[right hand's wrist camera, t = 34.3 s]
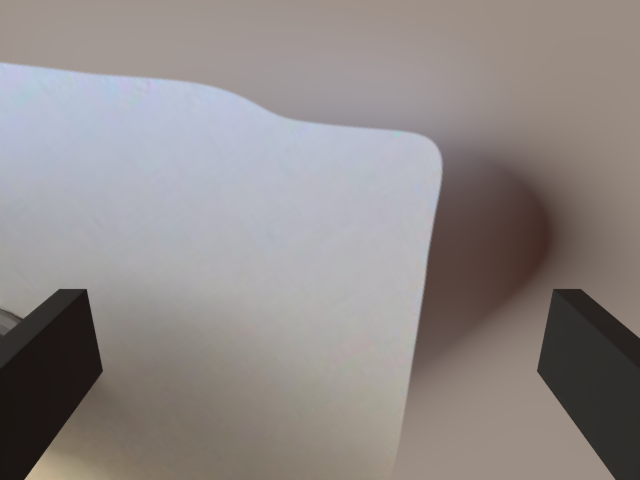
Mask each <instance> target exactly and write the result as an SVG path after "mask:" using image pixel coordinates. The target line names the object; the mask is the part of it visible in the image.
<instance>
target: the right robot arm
mask: <svg viewBox="0 0 640 480" xmlns="http://www.w3.org/2000/svg"><path fill="white" fill-rule="evenodd" d="M102 372H103V369H102V364H101V359H100V354H99V349H98V344H97V339H96V334H95V329H94V324H93V319H92V314H91V309H90V304H89V299H88V294H87V289H59V290H58V291H56V292H55V293H54V294H53V295H52V296H50V297H49V298H48V299H47V300H46V301H44V302H43V303H42V304H41V305H40V306H38V307H37V308H36V309H35V310H34V311H33V312H31V313H30V314H29V315H28V316H27V317H25V318H24V319H23V320H22V321H21V320H20V319H18V318H17V317H15V316H13V315H11V314H9V313H7V312H5V311H3V310H0V480H24V479H25V478H26V477H27V475H28V474H29V473H30V471H31V470H32V468H33V467H34V466H35V464H36V463H37V461H38V460H39V459H40V457H41V456H42V455H43V453H44V452H45V450H46V449H47V448H48V446H49V445H50V444H51V442H52V441H53V439H54V438H55V437H56V435H57V434H58V432H59V431H60V430H61V428H62V427H63V426H64V424H65V423H66V421H67V420H68V419H69V417H70V416H71V415H72V413H73V412H74V410H75V409H76V408H77V406H78V405H79V403H80V402H81V401H82V399H83V398H84V397H85V395H86V394H87V392H88V391H89V390H90V388H91V387H92V386H93V384H94V383H95V381H96V380H97V379H98V377H99V376H100V374H101V373H102ZM537 372H538V373H539V374H540V376H541V377H542V379H543V380H544V381H545V383H546V384H547V386H548V387H549V388H550V390H551V391H552V392H553V394H554V395H555V397H556V398H557V399H558V401H559V402H560V403H561V405H562V406H563V408H564V409H565V410H566V412H567V413H568V415H569V416H570V417H571V419H572V420H573V421H574V423H575V424H576V425H577V427H578V428H579V430H580V431H581V432H582V434H583V435H584V437H585V438H586V439H587V441H588V442H589V444H590V445H591V446H592V448H593V449H594V450H595V452H596V453H597V455H598V456H599V457H600V459H601V460H602V461H603V463H604V464H605V466H606V467H607V468H608V470H609V471H610V473H611V474H612V475H613V477H614V478H615V479H616V480H640V338H639V337H637V336H636V335H635V334H634V333H632V332H631V331H630V330H629V329H628V328H627V327H625V326H624V325H623V324H622V323H621V322H619V321H618V320H617V319H616V318H615V317H613V316H612V315H611V314H610V313H609V312H607V311H606V310H605V309H604V308H603V307H601V306H600V305H599V304H598V303H597V302H595V301H594V300H593V299H592V298H591V297H590V296H588V295H587V294H586V293H585V292H584V291H582V290H581V289H553V294H552V299H551V304H550V309H549V314H548V319H547V324H546V329H545V334H544V339H543V344H542V349H541V354H540V359H539V364H538V369H537Z"/></svg>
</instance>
